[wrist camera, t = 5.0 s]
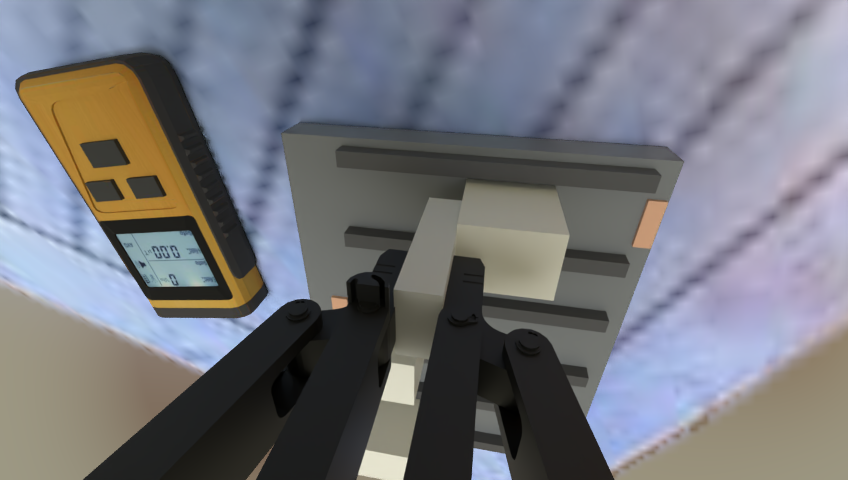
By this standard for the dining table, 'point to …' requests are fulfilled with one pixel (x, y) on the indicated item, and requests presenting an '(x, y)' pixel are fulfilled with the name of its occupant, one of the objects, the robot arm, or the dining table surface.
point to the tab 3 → (514, 236)
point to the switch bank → (446, 178)
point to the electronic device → (148, 181)
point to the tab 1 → (403, 379)
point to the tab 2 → (390, 441)
